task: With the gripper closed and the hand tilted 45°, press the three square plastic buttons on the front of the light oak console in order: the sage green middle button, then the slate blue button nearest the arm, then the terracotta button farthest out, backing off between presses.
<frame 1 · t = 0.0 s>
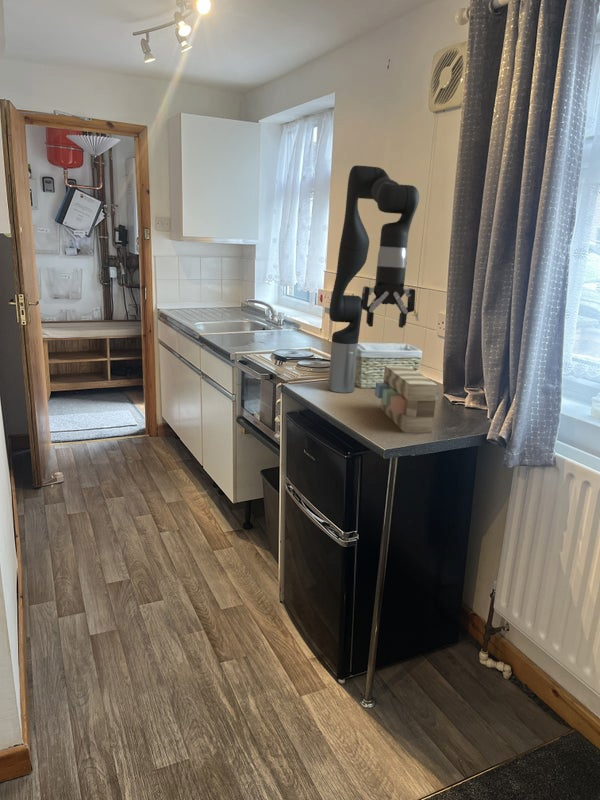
hand: (385, 326, 158), 29 cm above the counter, tool pointing down, fingers open, 8 cm apart
storage basket: (382, 385, 221), on the counter
green button: (389, 397, 174), point 7 cm above the counter, slide at 0.0 cm
console: (404, 419, 177), on the counter
egg carton: (423, 398, 205), on the counter
blue button: (382, 390, 182), point 7 cm above the counter, slide at 0.0 cm
terracotta button: (398, 404, 166), point 7 cm above the counter, slide at 0.0 cm
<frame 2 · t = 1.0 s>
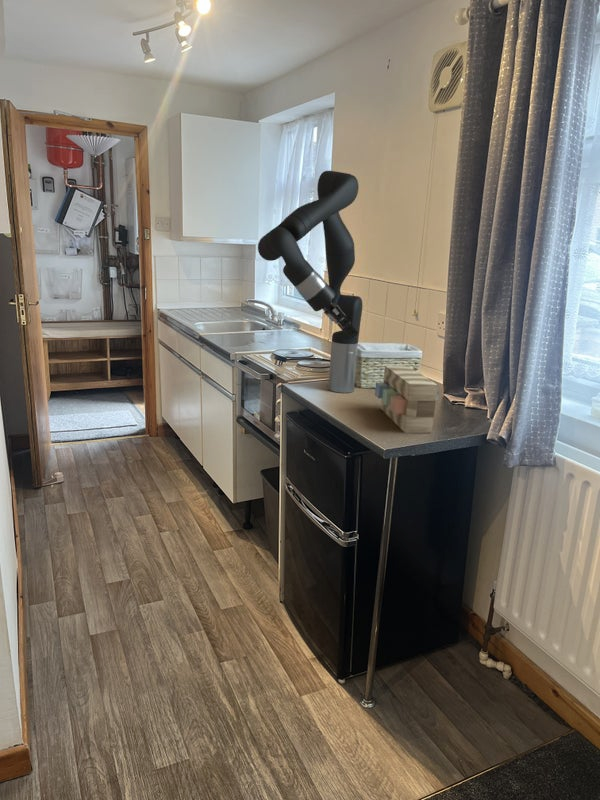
hand: (351, 333, 167), 26 cm above the counter, tool tilted 45°, fingers open, 7 cm apart
nothing on the counter moved.
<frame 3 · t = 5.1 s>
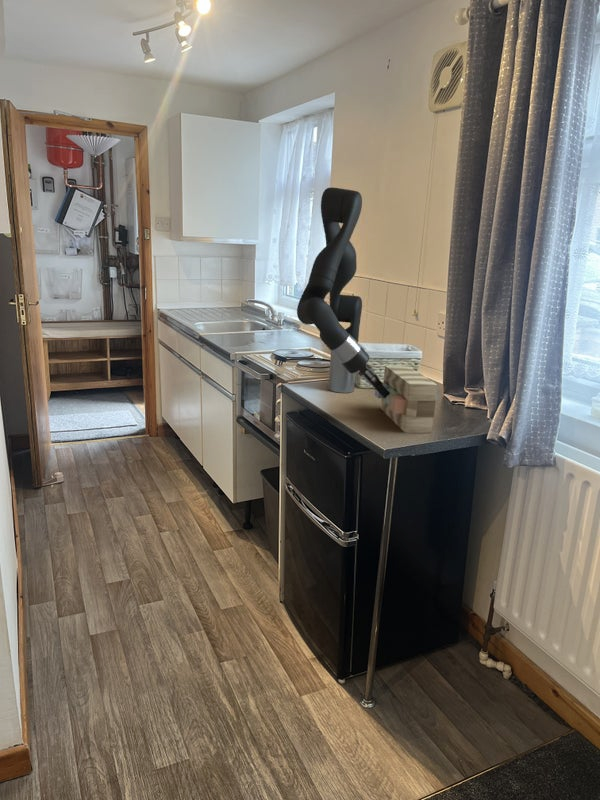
hand: (386, 395, 174), 8 cm above the counter, tool tilted 45°, fingers closed
green button: (393, 397, 174), point 7 cm above the counter, slide at 1.1 cm, touching gripper
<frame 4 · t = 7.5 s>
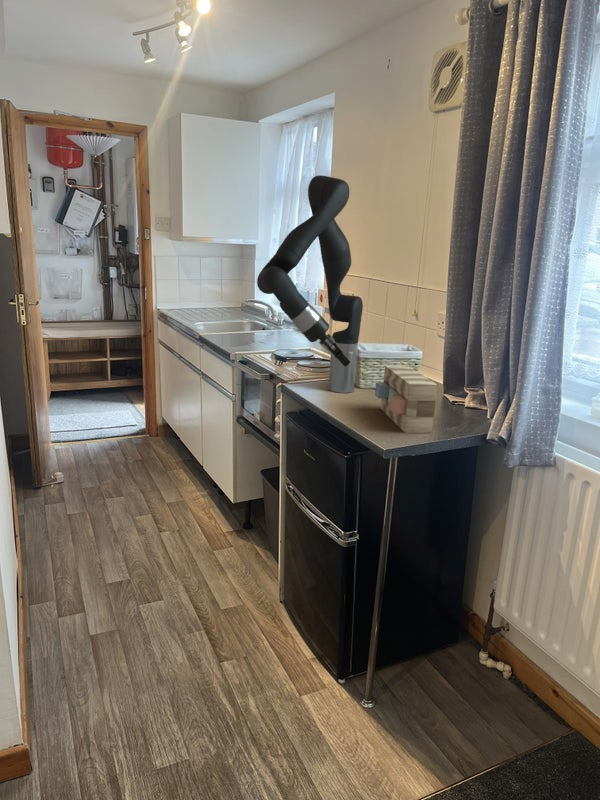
hand: (347, 364, 177), 15 cm above the counter, tool tilted 45°, fingers closed
green button: (395, 397, 174), point 7 cm above the counter, slide at 1.9 cm
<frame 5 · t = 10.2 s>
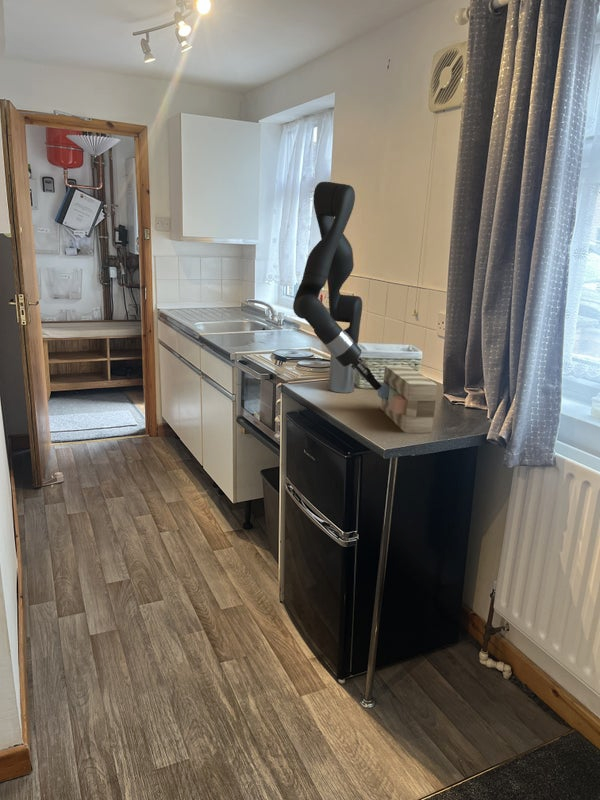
hand: (378, 387, 181), 8 cm above the counter, tool tilted 45°, fingers closed
blue button: (384, 390, 182), point 7 cm above the counter, slide at 0.8 cm
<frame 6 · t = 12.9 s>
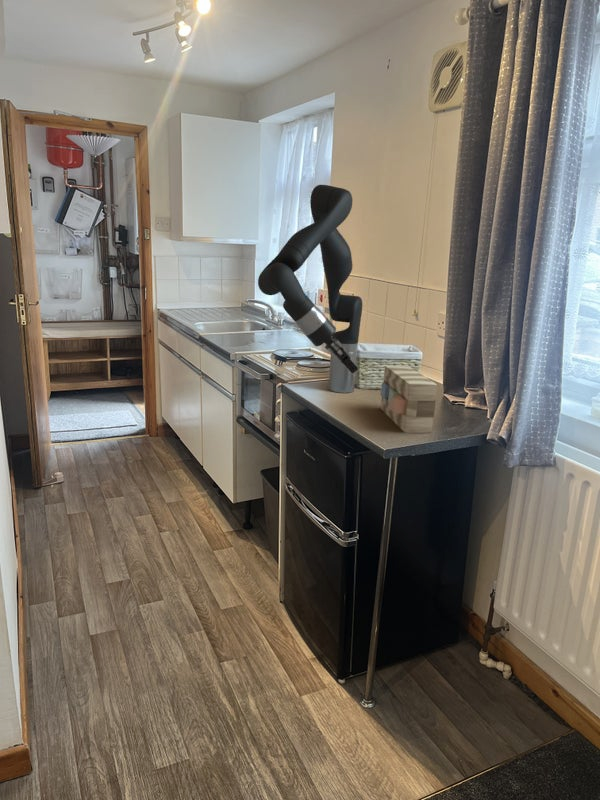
hand: (354, 370, 165), 16 cm above the counter, tool tilted 45°, fingers closed
blue button: (388, 390, 182), point 7 cm above the counter, slide at 1.9 cm
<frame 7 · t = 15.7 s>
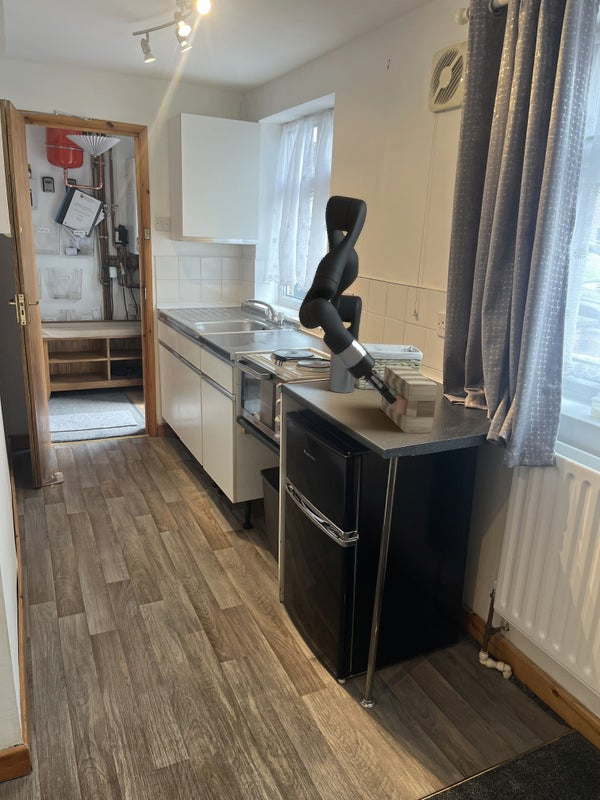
hand: (393, 401, 166), 8 cm above the counter, tool tilted 45°, fingers closed
terracotta button: (400, 404, 167), point 7 cm above the counter, slide at 0.7 cm, touching gripper
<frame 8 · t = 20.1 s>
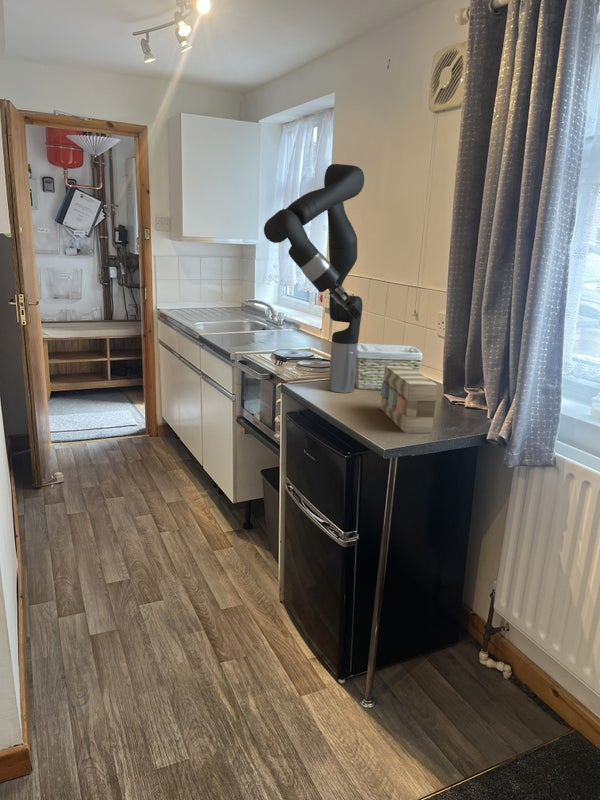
hand: (357, 316, 171), 30 cm above the counter, tool tilted 45°, fingers closed
terracotta button: (404, 404, 167), point 7 cm above the counter, slide at 1.9 cm
at the end: green button slide at 1.9 cm; blue button slide at 1.9 cm; terracotta button slide at 1.9 cm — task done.
